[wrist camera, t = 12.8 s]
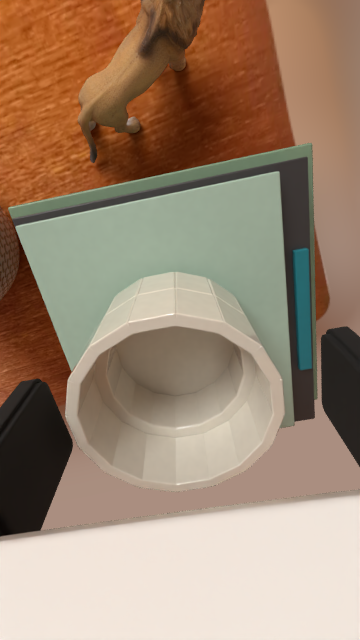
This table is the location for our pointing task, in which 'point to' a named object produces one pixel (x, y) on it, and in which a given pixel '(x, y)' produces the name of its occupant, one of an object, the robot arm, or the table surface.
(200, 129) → the table surface
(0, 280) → the planter
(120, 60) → the lion figurine
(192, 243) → the scale
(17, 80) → the table surface
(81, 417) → the bowl
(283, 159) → the stand
